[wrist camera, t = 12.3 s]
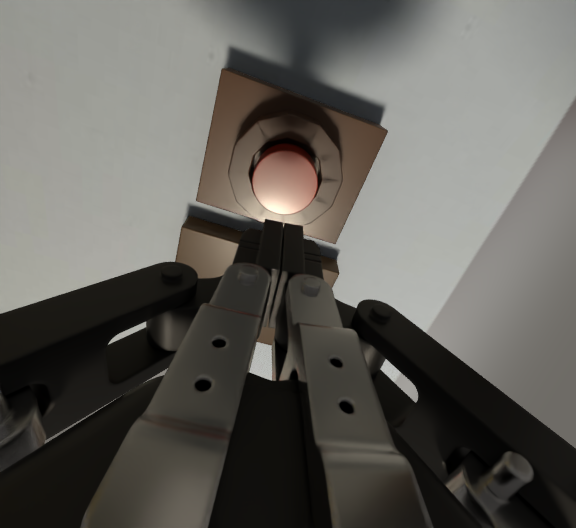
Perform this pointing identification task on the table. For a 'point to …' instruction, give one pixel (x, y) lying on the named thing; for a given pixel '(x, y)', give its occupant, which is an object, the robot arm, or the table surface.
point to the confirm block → (293, 130)
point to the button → (285, 179)
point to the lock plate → (225, 256)
